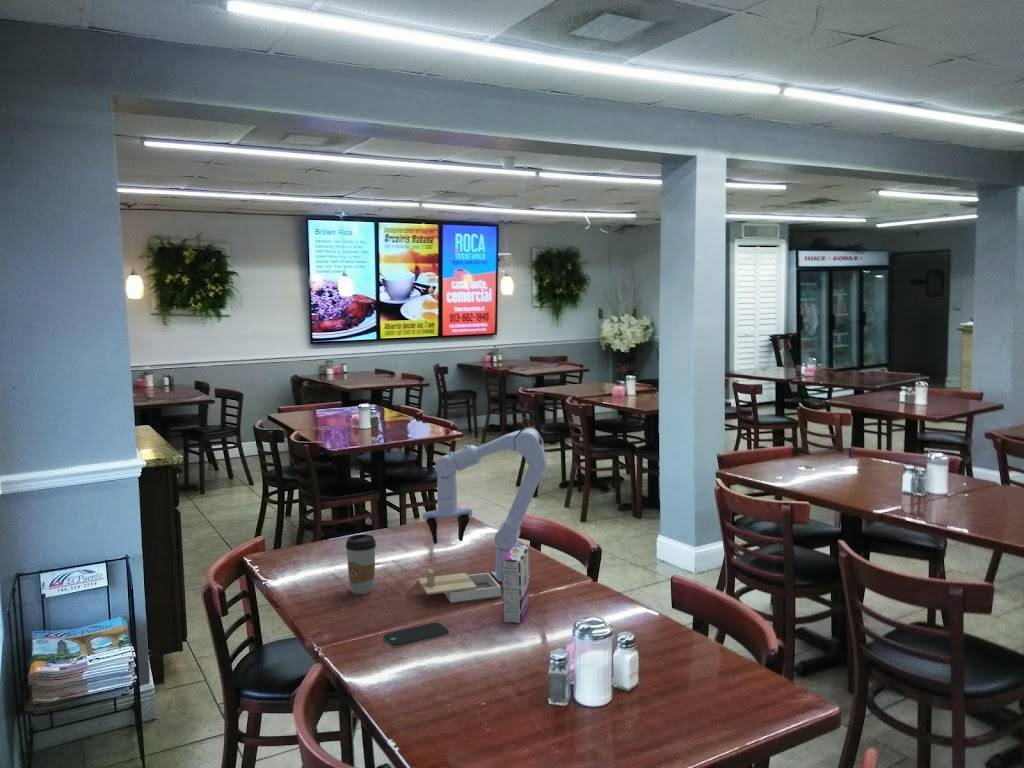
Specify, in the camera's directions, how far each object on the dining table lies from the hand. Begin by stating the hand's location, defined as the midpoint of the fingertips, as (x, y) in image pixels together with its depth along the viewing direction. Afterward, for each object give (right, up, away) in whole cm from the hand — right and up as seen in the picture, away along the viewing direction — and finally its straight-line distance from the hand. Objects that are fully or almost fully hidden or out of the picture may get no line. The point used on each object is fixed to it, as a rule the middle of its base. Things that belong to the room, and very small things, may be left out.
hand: (447, 541), depth 232 cm
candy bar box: (+20, -13, -30) cm, 38 cm away
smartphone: (-4, -15, -42) cm, 45 cm away
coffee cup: (-23, -12, -12) cm, 28 cm away
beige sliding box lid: (+1, -8, -17) cm, 19 cm away
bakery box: (+7, -11, -14) cm, 20 cm away
